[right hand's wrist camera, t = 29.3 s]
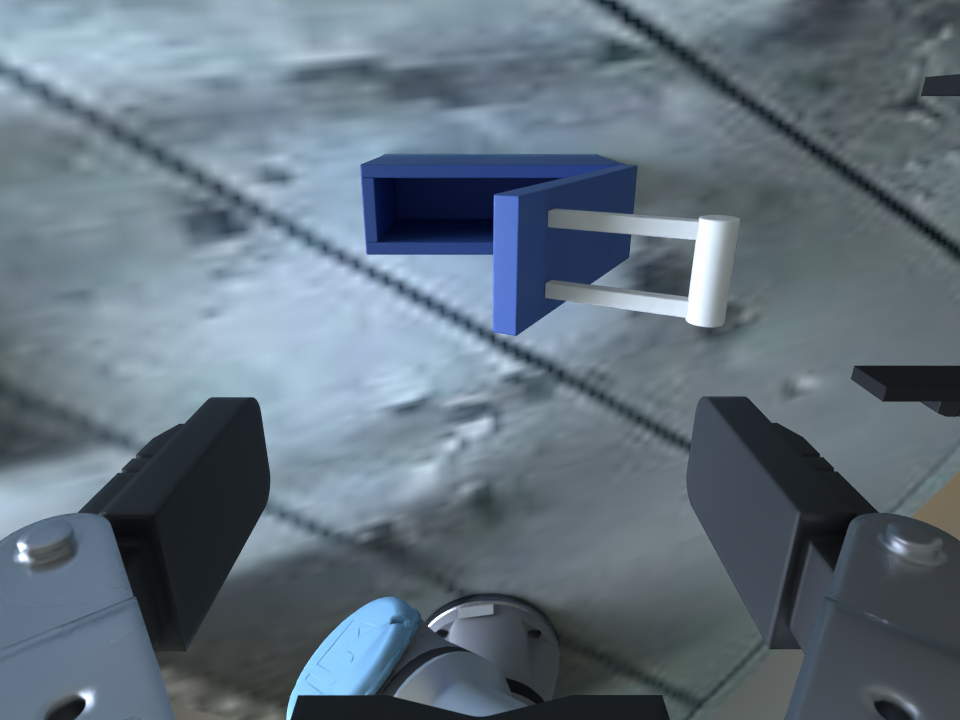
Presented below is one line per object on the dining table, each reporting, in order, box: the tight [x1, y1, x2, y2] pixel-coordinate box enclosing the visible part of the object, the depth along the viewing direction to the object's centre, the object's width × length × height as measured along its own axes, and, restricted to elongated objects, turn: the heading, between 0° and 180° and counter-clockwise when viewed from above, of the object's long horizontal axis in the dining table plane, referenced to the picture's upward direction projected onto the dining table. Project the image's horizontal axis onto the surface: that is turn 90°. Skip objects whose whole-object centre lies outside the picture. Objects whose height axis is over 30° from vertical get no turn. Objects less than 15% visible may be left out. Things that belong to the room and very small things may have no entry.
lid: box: [493, 165, 740, 336], centre depth 29 cm, size 17×6×9 cm
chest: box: [360, 154, 625, 255], centre depth 43 cm, size 16×6×11 cm, turn 90°
